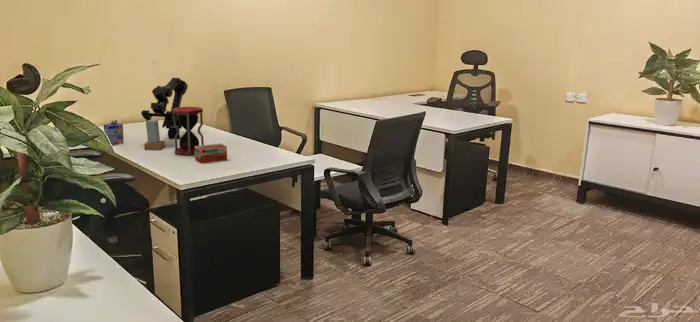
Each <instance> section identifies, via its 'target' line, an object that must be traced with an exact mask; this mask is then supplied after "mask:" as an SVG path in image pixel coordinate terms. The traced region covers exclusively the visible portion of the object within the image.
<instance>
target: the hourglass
mask: <svg viewBox="0 0 700 322" xmlns="http://www.w3.org/2000/svg"><path fill="white" fill-rule="evenodd" d="M172 111H173V118H174V126H175V127H176V129H177V134H176V135H175V139H174V154H175V155H178V156H184V157H185V156H187V157H188V156H190V157H191V156H195V146H200V143H201V146H202V145H205V144H204V135H203V134H202V132H201V128H202V127H203V111H204V109H203V108H202V107H198V106H180V107H178V108H173V109H172ZM175 113H177V114H178V121H179V123H180V125H181V126H182V128H183V129H184V130H185V133H183V134H182V136H180V138H179V143H178V139H177V136H178V135H179V134H180V132H181V129H179V128H178V126H177V125H176V115H175ZM199 116H200V117H199ZM199 119H200V125H199V126H198V127H197V132H198V134H199V136H200V139H201V141H200V139H199V138H198V137H197V135H195V134H194V132H192V130H193V129H194V128H195V127H196V125H197V124H198V123H199ZM178 144H179V147H178Z"/></svg>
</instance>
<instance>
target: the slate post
mask: <svg viewBox="0 0 700 322" xmlns="http://www.w3.org/2000/svg"><path fill="white" fill-rule="evenodd" d="M145 127H146V137H147V138H146V139H147V142H148V143H157V142H159V141H161V139H160V138H161V137H160V136H161V135H160V127H159V120H158V119H151V120H148V121H146V120H145Z"/></svg>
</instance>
